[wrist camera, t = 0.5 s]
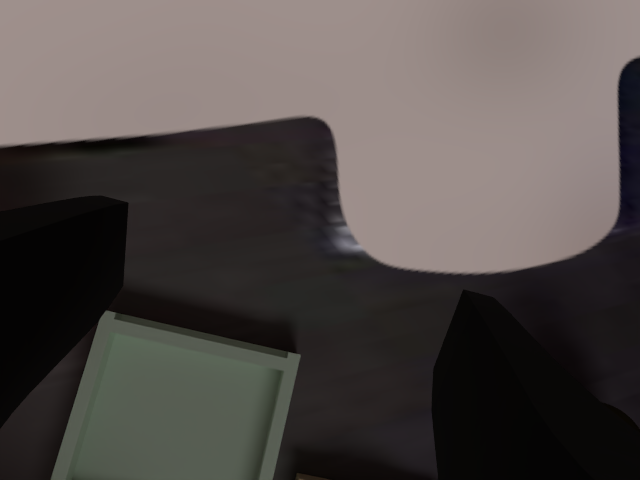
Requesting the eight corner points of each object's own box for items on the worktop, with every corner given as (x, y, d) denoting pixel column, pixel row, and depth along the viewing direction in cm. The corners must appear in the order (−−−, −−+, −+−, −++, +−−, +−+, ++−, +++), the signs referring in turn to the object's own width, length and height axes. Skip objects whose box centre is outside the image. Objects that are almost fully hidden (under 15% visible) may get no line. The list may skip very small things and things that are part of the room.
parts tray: (251, 556, 34) (251, 570, 32) (48, 518, 33) (35, 530, 31) (297, 354, 37) (300, 354, 35) (110, 311, 36) (102, 309, 34)
